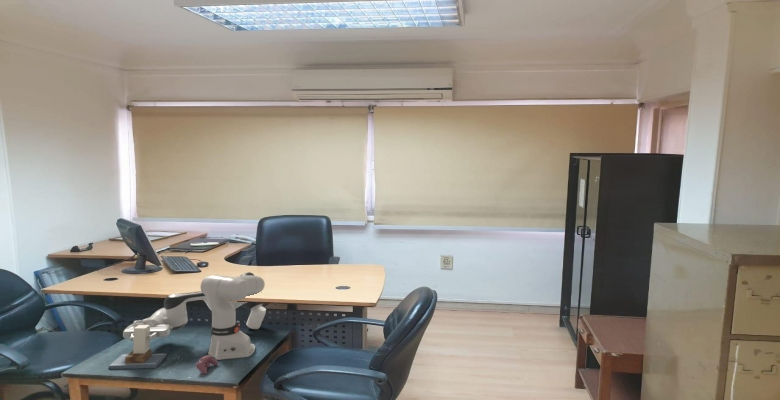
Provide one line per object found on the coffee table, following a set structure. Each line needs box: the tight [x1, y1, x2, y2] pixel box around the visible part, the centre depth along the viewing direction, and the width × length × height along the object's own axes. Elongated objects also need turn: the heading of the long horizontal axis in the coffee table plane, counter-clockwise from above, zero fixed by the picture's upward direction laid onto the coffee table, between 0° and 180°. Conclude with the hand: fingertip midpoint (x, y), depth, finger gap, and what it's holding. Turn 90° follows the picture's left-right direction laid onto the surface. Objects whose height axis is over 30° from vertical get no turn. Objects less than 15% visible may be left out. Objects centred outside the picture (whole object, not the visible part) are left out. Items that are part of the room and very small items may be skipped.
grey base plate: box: [108, 348, 167, 370], centre depth 192 cm, size 20×12×4 cm, turn 98°
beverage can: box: [245, 305, 267, 330], centre depth 240 cm, size 8×8×12 cm
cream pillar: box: [132, 325, 151, 354], centre depth 194 cm, size 5×5×12 cm
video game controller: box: [195, 354, 219, 375], centre depth 188 cm, size 10×5×7 cm, turn 171°
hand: (140, 339), depth 192 cm, fingers open, 6 cm apart
